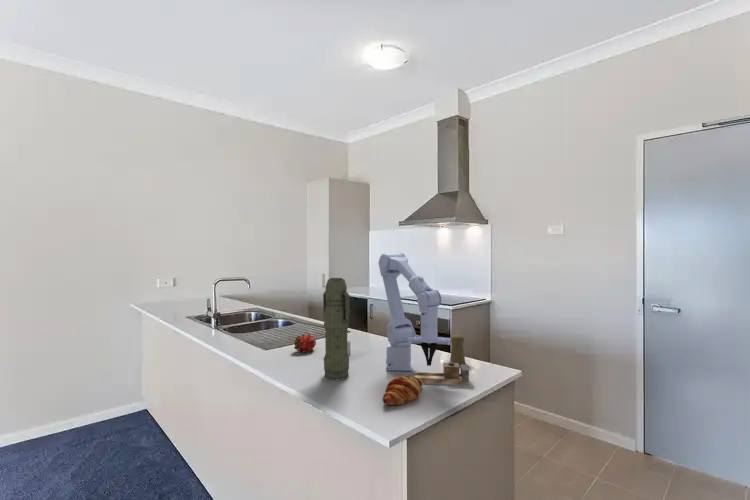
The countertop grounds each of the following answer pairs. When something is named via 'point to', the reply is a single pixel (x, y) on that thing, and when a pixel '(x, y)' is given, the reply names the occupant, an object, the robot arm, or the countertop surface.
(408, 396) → the croissant
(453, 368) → the carriage
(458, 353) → the cork
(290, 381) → the countertop surface
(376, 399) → the countertop surface
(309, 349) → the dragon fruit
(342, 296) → the thermos
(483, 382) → the countertop surface
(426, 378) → the rail
